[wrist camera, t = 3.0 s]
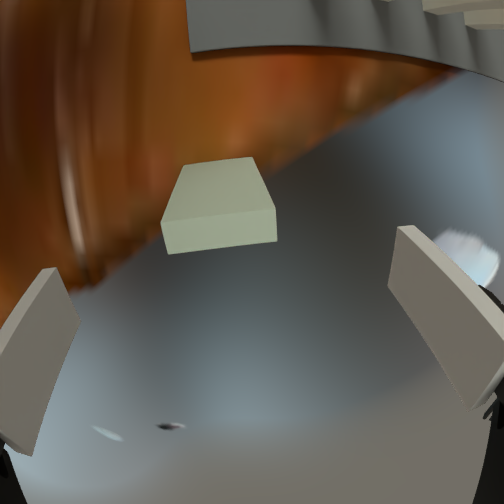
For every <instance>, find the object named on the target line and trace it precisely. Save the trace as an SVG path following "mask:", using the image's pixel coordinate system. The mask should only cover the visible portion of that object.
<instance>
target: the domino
mask: <svg viewBox="0 0 504 504" xmlns="http://www.w3.org/2000/svg"><path fill="white" fill-rule="evenodd" d="M161 227H162V231H163V236H164V240H165V244H166V248H167V252H168V254H175V253H183V252H191V251H199V250H207V249H215V248H224V247H232V246H239V245H249V244H256V243H266V242H274V241H277V227H276V209H275V206H274V204H273V202H272V199H271V197H270V195H269V193H268V191H267V188H266V186H265V184H264V182H263V180H262V177H261V175H260V173H259V171H258V169H257V167H256V165H255V162H254V160H253V158H252V157H246V158H237V159H228V160H219V161H211V162H204V163H196V164H189V165H184V166H183V168H182V170H181V173H180V175H179V178H178V180H177V182H176V185H175V187H174V190H173V192H172V195H171V197H170V200H169V202H168V205H167V207H166V210H165V212H164V215H163V218H162V220H161Z"/></svg>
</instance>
